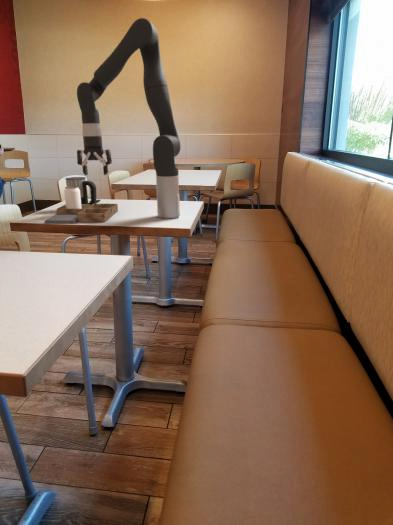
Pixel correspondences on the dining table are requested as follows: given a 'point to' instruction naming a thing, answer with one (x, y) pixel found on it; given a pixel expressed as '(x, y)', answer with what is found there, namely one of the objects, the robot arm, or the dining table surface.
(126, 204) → the dining table surface
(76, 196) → the can
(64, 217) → the mat
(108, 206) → the frame
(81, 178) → the milk frother
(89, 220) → the frame
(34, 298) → the dining table surface
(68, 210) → the frame
